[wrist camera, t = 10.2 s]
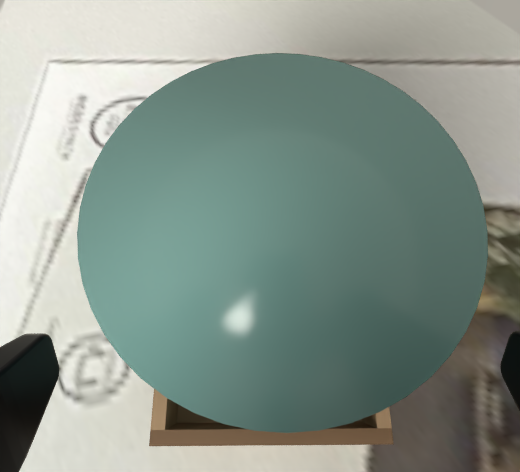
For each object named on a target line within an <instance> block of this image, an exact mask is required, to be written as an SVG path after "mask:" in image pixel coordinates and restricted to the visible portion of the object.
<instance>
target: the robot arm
mask: <svg viewBox="0 0 520 472" xmlns="http://www.w3.org/2000/svg"><path fill="white" fill-rule="evenodd" d="M501 373H502V376H503V379H504V381H505V383H506V385H507V387H508V389H509V391H510V393H511V395H512V397H513V399H514V401H515V403H516V405H517V407H518V409H519V411H520V331H515V332H513V333H512V334H511V335H510V337H509V339H508V342H507V346H506V349H505V352H504V355H503V358H502V361H501ZM58 376H59V364H58V361H57V357H56V353H55V350H54V346H53V343H52V340H51V338H50V336H49V335H47V334H24V335H22V336H20V337H18V338H16V339H15V340H13V341H11V342H9V343H7V344H5V345H3V346H1V347H0V472H19V470H20V468H21V466H22V464H23V462H24V460H25V458H26V456H27V454H28V451H29V449H30V447H31V444H32V442H33V440H34V437H35V435H36V432H37V430H38V427H39V425H40V422H41V420H42V417H43V415H44V412H45V410H46V407H47V405H48V402H49V400H50V397H51V395H52V392H53V390H54V387H55V385H56V382H57V380H58Z"/></svg>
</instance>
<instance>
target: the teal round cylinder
mask: <svg viewBox="0 0 520 472" xmlns="http://www.w3.org/2000/svg"><path fill="white" fill-rule="evenodd" d="M77 239H78V260H79V266H80V271H81V277H82V282H83V286H84V289H85V292H86V295H87V298H88V301H89V304H90V307H91V310H92V311H93V313H94V315H95V317H96V319H97V321H98V323H99V325H100V327H101V329H102V331H103V333H104V335H105V336H106V337H107V339H108V340H109V342H110V343H111V344H112V346H113V347H114V349H115V350H116V351H117V353H118V354H119V356H120V357H121V358H122V359H123V360H124V361H125V362H126V363H127V364H128V365H129V366H130V367H131V368H132V369H133V370H134V372H135V373H136V374H137V375H138V376H139V377H140V378H141V379H143V380H144V381H145V382H146V383H148V384H149V385H150V386H152V387H153V388H154V389H156V390H157V391H158V392H159V393H161V394H162V395H163V396H165V397H166V398H168V399H170V400H172V401H173V402H175V403H177V404H179V405H181V406H182V407H184V408H186V409H188V410H190V411H191V412H193V413H196V414H198V415H201V416H204V417H206V418H209V419H212V420H214V421H217V422H220V423H222V424H226V425H231V426H235V427H240V428H245V429H249V430H254V431H266V432H280V433H293V432H306V431H319V430H324V429H328V428H332V427H337V426H341V425H346V424H350V423H353V422H355V421H358V420H361V419H363V418H366V417H368V416H371V415H373V414H376V413H378V412H381V411H382V410H384V409H386V408H388V407H389V406H391V405H393V404H394V403H396V402H398V401H400V400H401V399H403V398H405V397H407V396H408V395H409V394H410V393H412V392H413V391H414V390H415V389H417V388H418V387H419V386H420V385H422V384H423V383H424V382H425V381H427V380H428V379H429V378H430V377H431V376H432V375H433V374H434V373H435V372H436V371H437V370H438V369H439V367H440V366H441V365H442V364H443V363H444V362H445V361H446V360H447V359H448V357H449V356H450V355H451V354H452V352H453V351H454V349H455V348H456V346H457V345H458V343H459V342H460V340H461V339H462V337H463V335H464V334H465V332H466V330H467V328H468V326H469V324H470V322H471V320H472V317H473V315H474V313H475V311H476V309H477V306H478V303H479V299H480V295H481V292H482V288H483V285H484V281H485V273H486V266H487V258H488V243H487V226H486V220H485V214H484V208H483V203H482V200H481V197H480V194H479V190H478V187H477V184H476V181H475V179H474V177H473V175H472V173H471V170H470V168H469V166H468V164H467V162H466V160H465V158H464V157H463V155H462V153H461V152H460V150H459V149H458V147H457V145H456V144H455V142H454V141H453V139H452V138H451V137H450V136H449V134H448V133H447V132H446V131H445V129H444V128H443V127H442V126H441V125H440V123H439V122H438V121H437V120H436V119H435V118H434V117H433V116H432V115H431V114H430V113H429V112H428V111H427V110H426V109H425V108H424V107H423V106H421V105H420V104H419V103H418V102H416V101H415V100H414V99H412V98H411V97H410V96H409V95H407V94H406V93H405V92H403V91H402V90H400V89H398V88H397V87H395V86H394V85H392V84H390V83H389V82H387V81H385V80H384V79H381V78H379V77H377V76H375V75H373V74H371V73H369V72H367V71H365V70H362V69H359V68H357V67H354V66H351V65H348V64H345V63H342V62H338V61H334V60H330V59H326V58H322V57H316V56H309V55H302V54H284V53H272V54H255V55H249V56H242V57H236V58H231V59H227V60H224V61H220V62H216V63H212V64H210V65H207V66H204V67H202V68H199V69H197V70H194V71H191V72H189V73H187V74H185V75H183V76H181V77H179V78H177V79H176V80H174V81H172V82H170V83H168V84H167V85H165V86H164V87H162V88H161V89H159V90H158V91H156V92H155V93H153V94H152V95H151V96H149V97H148V98H147V99H146V100H145V101H143V102H142V103H141V104H140V105H139V106H137V107H136V108H135V109H134V110H133V111H132V112H131V113H130V114H129V115H128V116H127V118H126V119H125V120H124V121H123V122H122V123H121V124H120V125H119V126H118V128H117V129H116V130H115V132H114V133H113V134H112V136H111V137H110V138H109V140H108V141H107V142H106V144H105V146H104V148H103V149H102V151H101V153H100V155H99V156H98V158H97V160H96V162H95V164H94V166H93V169H92V171H91V174H90V176H89V179H88V181H87V184H86V187H85V191H84V194H83V198H82V202H81V206H80V213H79V222H78V231H77Z"/></svg>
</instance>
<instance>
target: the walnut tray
mask: <svg viewBox="0 0 520 472" xmlns="http://www.w3.org/2000/svg"><path fill="white" fill-rule="evenodd" d="M365 444H393V436H392V427H391V419H390V410H389V407H388V408H386V409H384V410H382V411H381V412H378V413H376V414H373V415H371V416H368V417H366V418H363V419H361V420H358V421H355V422H353V423H350V424H346V425H341V426H337V427H332V428H328V429H324V430H319V431H306V432H293V433H280V432H266V431H254V430H249V429H245V428H240V427H235V426H231V425H226V424H222V423H220V422H217V421H214V420H212V419H209V418H206V417H204V416H201V415H198V414H196V413H193V412H191V411H190V410H188V409H186V408H184V407H182V406H181V405H179V404H177V403H175V402H173V401H172V400H170V399H168V398H166V397H165V396H163V395H162V394H161V393H159V392H158V391H157V390H156V389H154V397H153V408H152V420H151V432H150V443H149V446H227V445H365Z"/></svg>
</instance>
